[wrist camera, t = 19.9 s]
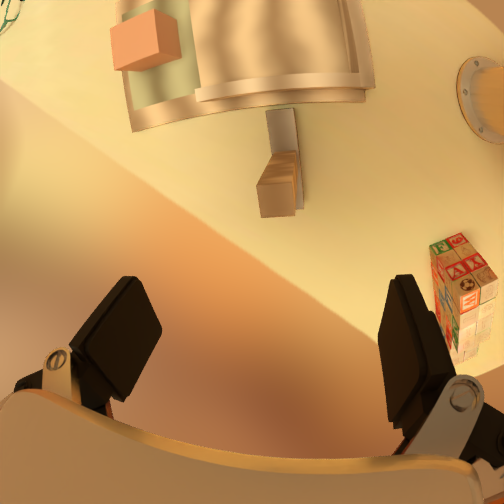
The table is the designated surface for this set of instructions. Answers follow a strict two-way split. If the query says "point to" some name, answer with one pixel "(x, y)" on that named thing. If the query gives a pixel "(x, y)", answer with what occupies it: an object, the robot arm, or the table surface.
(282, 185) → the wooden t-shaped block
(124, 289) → the robot arm
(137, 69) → the block
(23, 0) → the sunglasses
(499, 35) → the table surface
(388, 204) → the table surface
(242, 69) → the cubby
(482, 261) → the stack of blocks
